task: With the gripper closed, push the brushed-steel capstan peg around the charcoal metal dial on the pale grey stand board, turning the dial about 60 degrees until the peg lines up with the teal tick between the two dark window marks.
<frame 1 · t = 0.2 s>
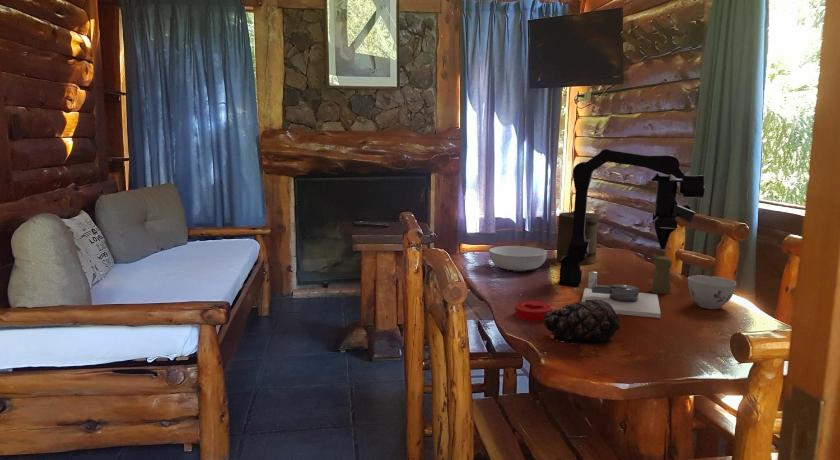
hand: (662, 246, 187), 14 cm above the table, fingers open, 9 cm apart
cork: (660, 292, 190), on the table
wooden container: (575, 261, 235), on the table
pine cone: (579, 341, 145), on the table
serving bowl: (517, 269, 220), on the table
teacup: (707, 306, 175), on the table
stand board: (619, 303, 175), on the table
decorative ornament: (533, 317, 163), on the table
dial: (613, 285, 177), point 5 cm above the table, hinge at 0.0°
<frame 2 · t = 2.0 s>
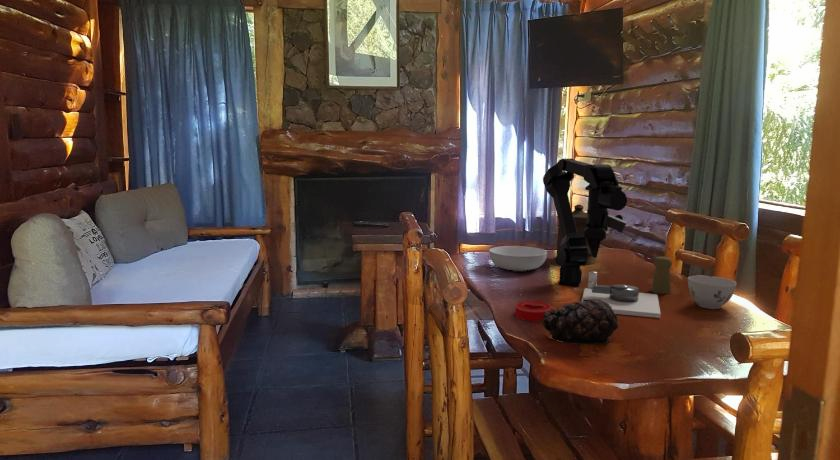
hand: (594, 257, 184), 12 cm above the table, fingers closed
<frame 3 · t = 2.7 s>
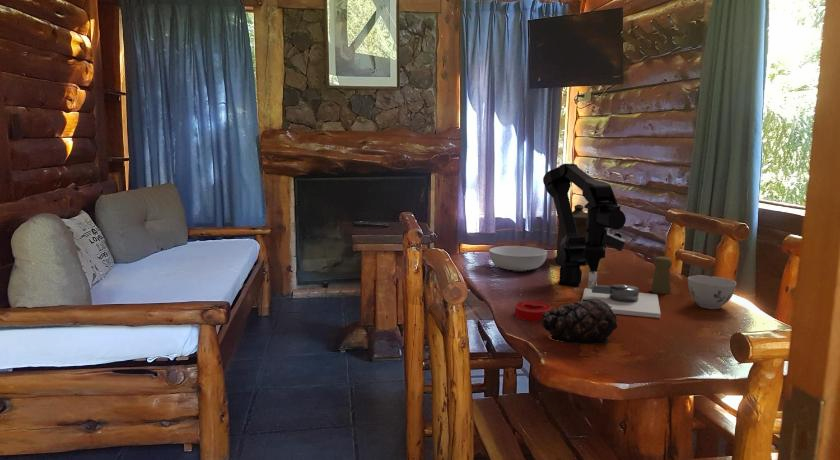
hand: (593, 275, 185), 6 cm above the table, fingers closed
nothing on the table moved.
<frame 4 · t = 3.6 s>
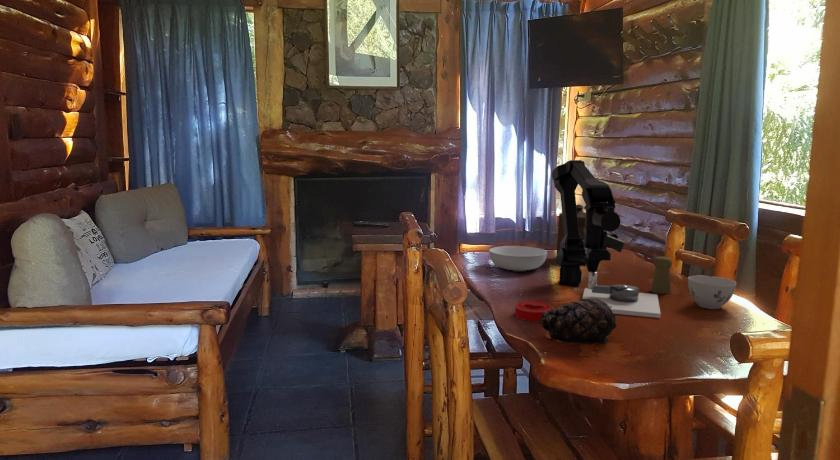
hand: (592, 277, 181), 6 cm above the table, fingers closed
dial: (613, 285, 177), point 5 cm above the table, hinge at 0.4°, touching gripper
everything else where it was.
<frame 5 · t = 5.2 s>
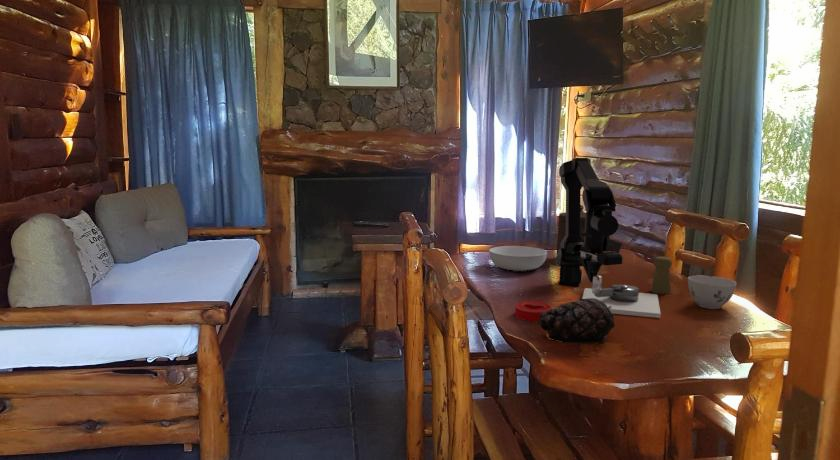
hand: (591, 282, 176), 6 cm above the table, fingers closed
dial: (615, 286, 175), point 5 cm above the table, hinge at 33.1°, touching gripper
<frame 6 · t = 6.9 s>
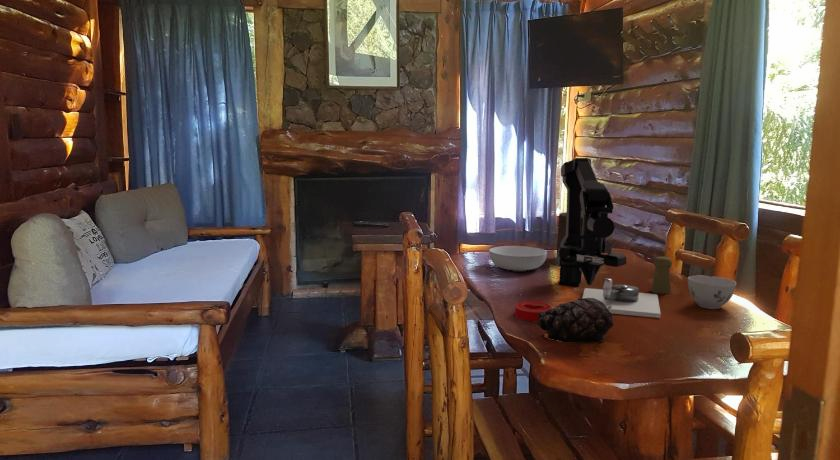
hand: (589, 284, 174), 6 cm above the table, fingers closed
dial: (618, 288, 174), point 5 cm above the table, hinge at 59.5°
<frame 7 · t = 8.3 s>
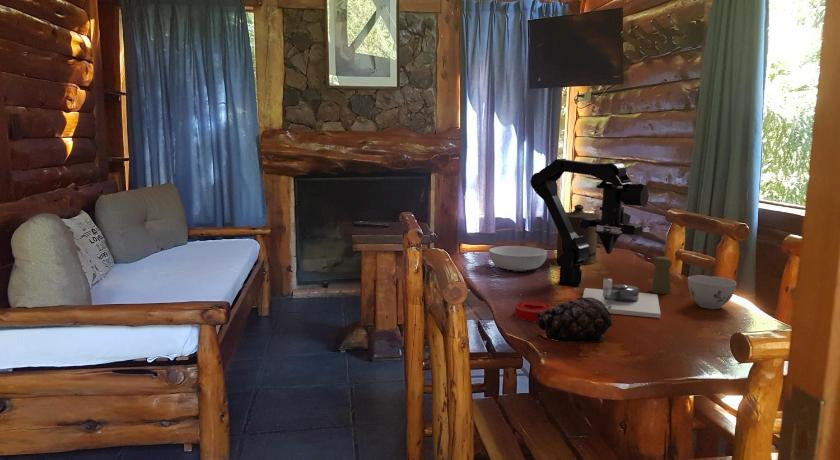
hand: (608, 253, 188), 12 cm above the table, fingers closed
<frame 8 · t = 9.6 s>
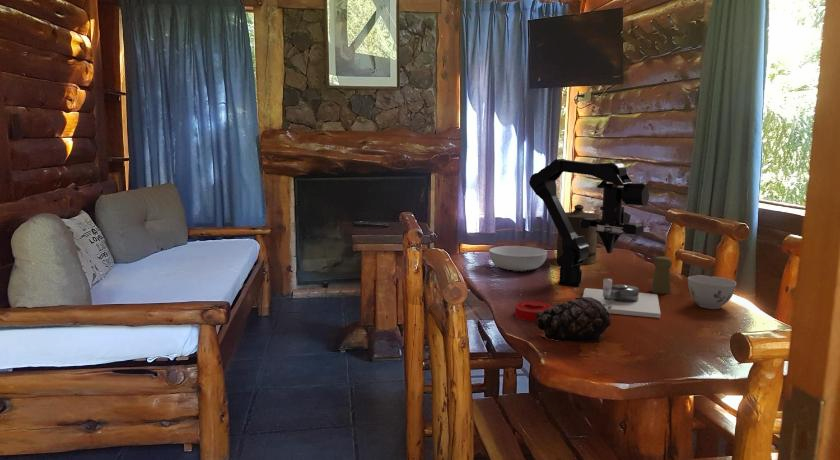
hand: (609, 253, 188), 12 cm above the table, fingers closed
at the end: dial at +60° (first picture: +0°); the gripper is holding nothing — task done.
